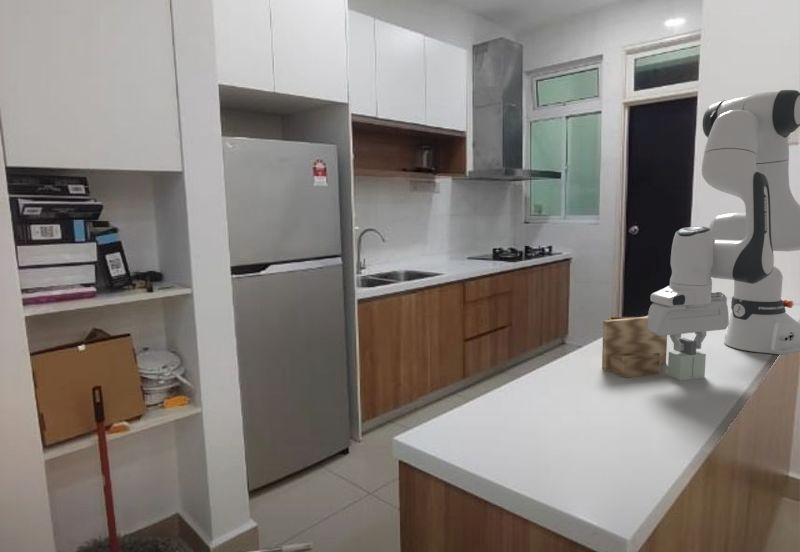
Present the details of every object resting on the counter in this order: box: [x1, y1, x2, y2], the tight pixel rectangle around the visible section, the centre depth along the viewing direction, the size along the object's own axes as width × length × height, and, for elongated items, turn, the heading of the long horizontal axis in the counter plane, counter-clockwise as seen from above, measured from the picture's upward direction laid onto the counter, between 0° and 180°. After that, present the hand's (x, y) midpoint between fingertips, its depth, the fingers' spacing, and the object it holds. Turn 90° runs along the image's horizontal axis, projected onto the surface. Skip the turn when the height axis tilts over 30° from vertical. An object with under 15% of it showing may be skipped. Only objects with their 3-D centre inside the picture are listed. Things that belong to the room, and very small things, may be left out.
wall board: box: [601, 315, 668, 379], centre depth 126 cm, size 18×8×13 cm, turn 101°
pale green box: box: [667, 337, 707, 381], centre depth 121 cm, size 7×4×9 cm, turn 101°
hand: (687, 349), depth 121 cm, fingers open, 3 cm apart
